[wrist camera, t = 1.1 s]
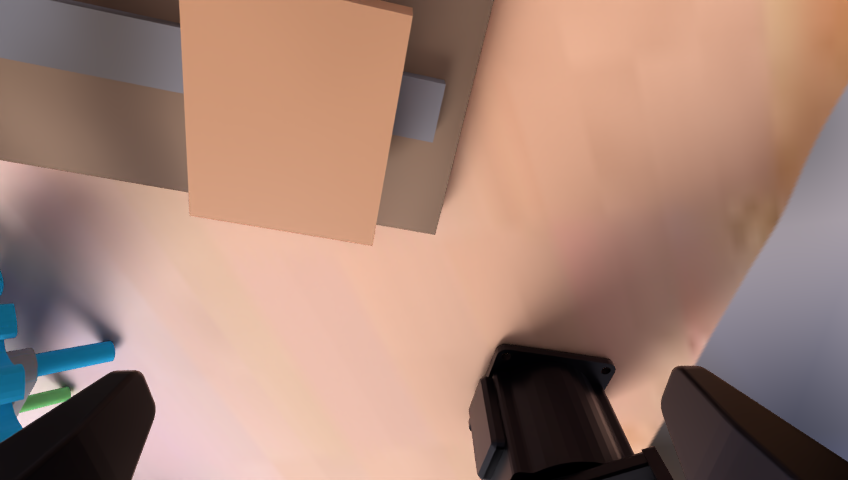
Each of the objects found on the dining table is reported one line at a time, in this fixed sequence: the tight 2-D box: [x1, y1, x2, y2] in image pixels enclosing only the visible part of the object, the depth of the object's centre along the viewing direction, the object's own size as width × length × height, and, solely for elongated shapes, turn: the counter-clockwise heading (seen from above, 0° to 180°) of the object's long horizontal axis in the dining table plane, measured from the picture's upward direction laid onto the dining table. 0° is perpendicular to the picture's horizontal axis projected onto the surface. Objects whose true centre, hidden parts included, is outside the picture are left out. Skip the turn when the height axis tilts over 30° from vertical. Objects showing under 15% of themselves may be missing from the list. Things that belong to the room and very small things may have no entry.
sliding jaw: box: [179, 0, 413, 246], centre depth 12 cm, size 5×10×4 cm, turn 168°
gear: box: [0, 271, 115, 443], centre depth 21 cm, size 11×6×10 cm
